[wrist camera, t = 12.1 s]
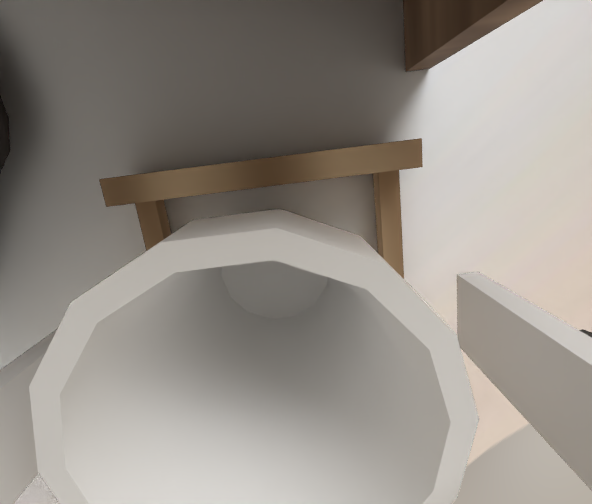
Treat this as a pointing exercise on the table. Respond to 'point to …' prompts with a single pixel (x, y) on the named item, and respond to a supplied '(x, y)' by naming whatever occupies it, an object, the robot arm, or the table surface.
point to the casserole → (3, 135)
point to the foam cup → (253, 376)
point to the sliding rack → (276, 171)
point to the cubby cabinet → (451, 26)
